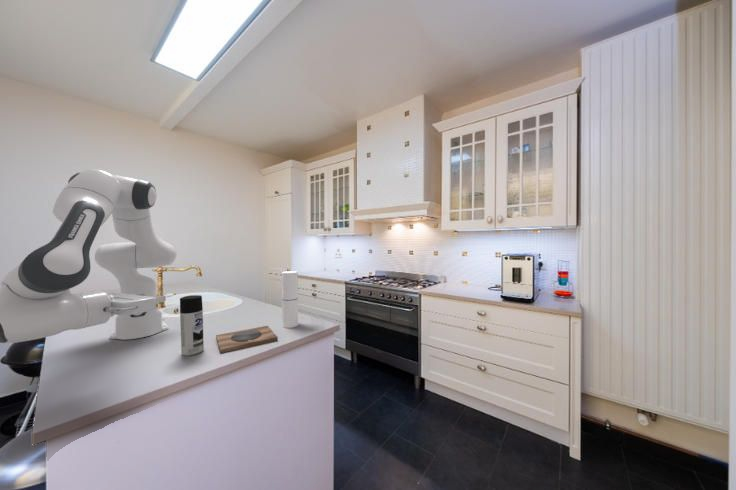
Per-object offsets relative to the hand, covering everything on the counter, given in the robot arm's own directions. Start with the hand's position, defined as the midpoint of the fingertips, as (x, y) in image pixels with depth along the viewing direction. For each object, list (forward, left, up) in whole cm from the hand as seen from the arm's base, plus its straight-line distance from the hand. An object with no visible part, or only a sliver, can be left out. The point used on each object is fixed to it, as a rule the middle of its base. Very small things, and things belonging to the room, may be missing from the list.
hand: (153, 297), depth 81 cm
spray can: (-7, +10, -23) cm, 26 cm away
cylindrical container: (-15, +48, -23) cm, 55 cm away
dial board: (-8, +28, -23) cm, 37 cm away
